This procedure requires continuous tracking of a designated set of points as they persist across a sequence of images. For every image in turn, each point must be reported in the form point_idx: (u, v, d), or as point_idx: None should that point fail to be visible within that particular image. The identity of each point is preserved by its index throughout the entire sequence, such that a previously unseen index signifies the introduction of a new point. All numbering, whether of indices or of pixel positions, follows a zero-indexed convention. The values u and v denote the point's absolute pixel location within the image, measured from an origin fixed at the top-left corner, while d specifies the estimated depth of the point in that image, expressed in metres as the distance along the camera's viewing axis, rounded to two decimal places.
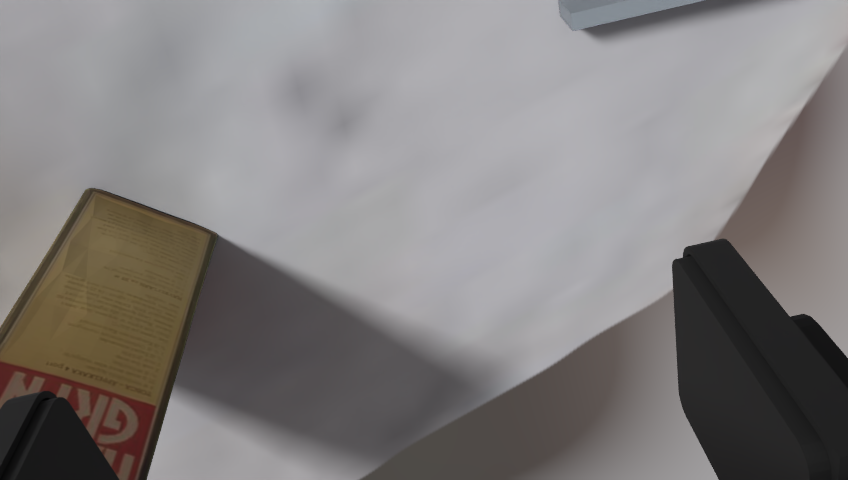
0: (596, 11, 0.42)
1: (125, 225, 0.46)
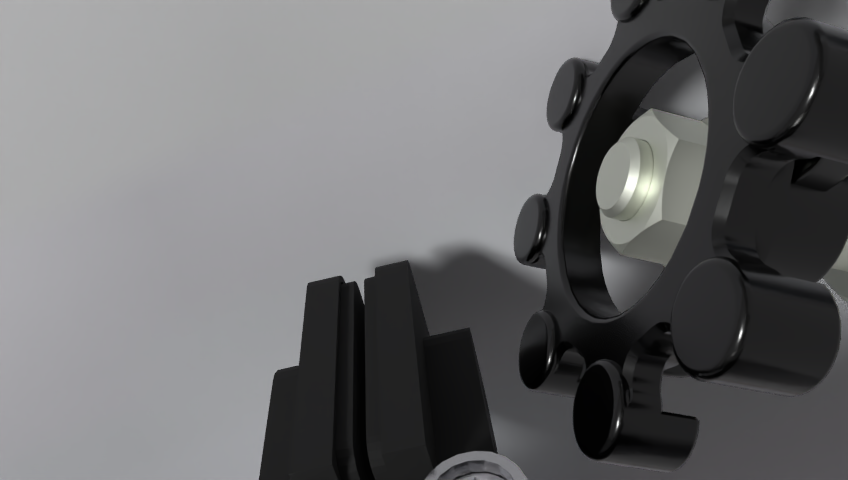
0: None
1: None
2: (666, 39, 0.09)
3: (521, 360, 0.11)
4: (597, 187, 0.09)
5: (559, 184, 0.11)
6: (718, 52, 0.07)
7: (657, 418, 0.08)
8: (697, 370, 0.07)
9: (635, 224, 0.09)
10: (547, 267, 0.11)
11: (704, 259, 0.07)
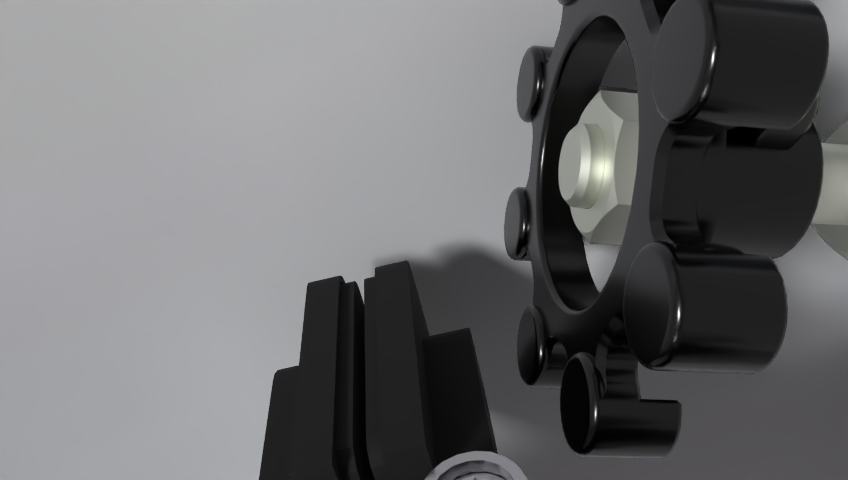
0: None
1: None
2: (603, 19, 0.09)
3: (519, 357, 0.11)
4: (559, 177, 0.09)
5: (534, 176, 0.11)
6: (639, 29, 0.07)
7: (635, 407, 0.08)
8: (646, 360, 0.06)
9: (596, 211, 0.09)
10: (532, 261, 0.11)
11: (643, 244, 0.07)
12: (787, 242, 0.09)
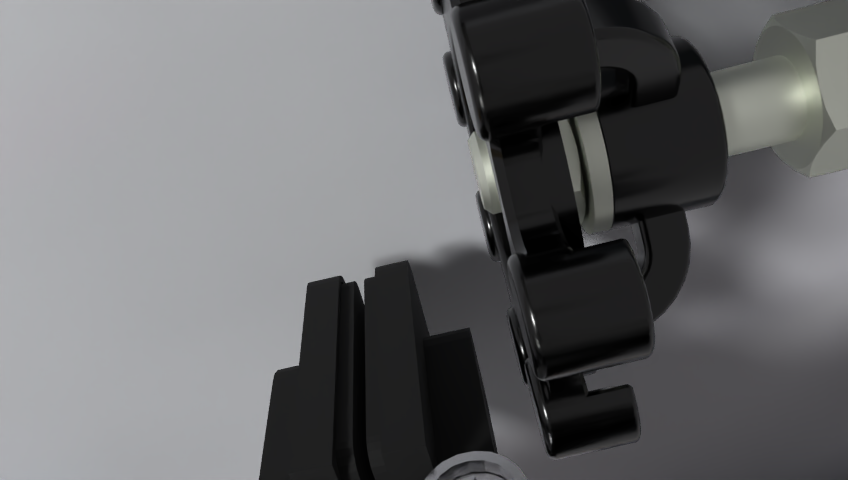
0: None
1: None
2: None
3: None
4: (478, 186, 0.09)
5: None
6: None
7: (583, 403, 0.08)
8: (534, 374, 0.06)
9: None
10: (501, 263, 0.10)
11: (509, 259, 0.07)
12: (713, 186, 0.08)
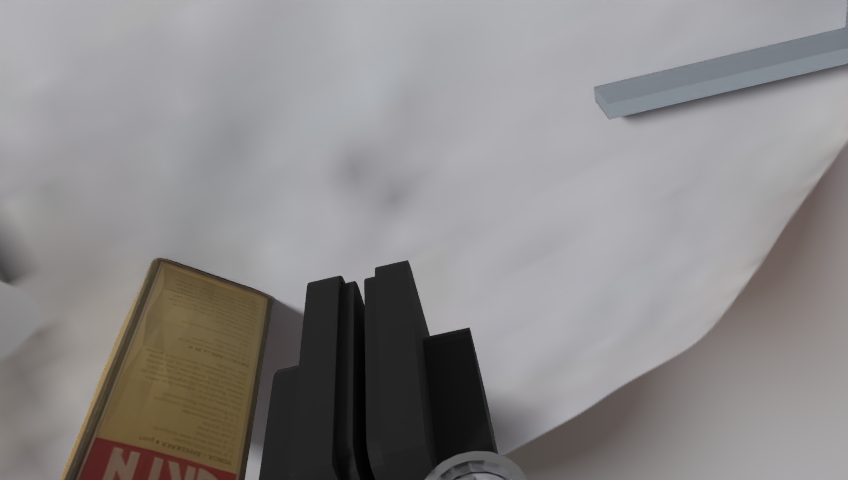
0: (631, 102, 0.45)
1: (193, 294, 0.50)
2: None
3: None
4: None
5: None
6: None
7: None
8: None
9: None
10: None
11: None
12: None
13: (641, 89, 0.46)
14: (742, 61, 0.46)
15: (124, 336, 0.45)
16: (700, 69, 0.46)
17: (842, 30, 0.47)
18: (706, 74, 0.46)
